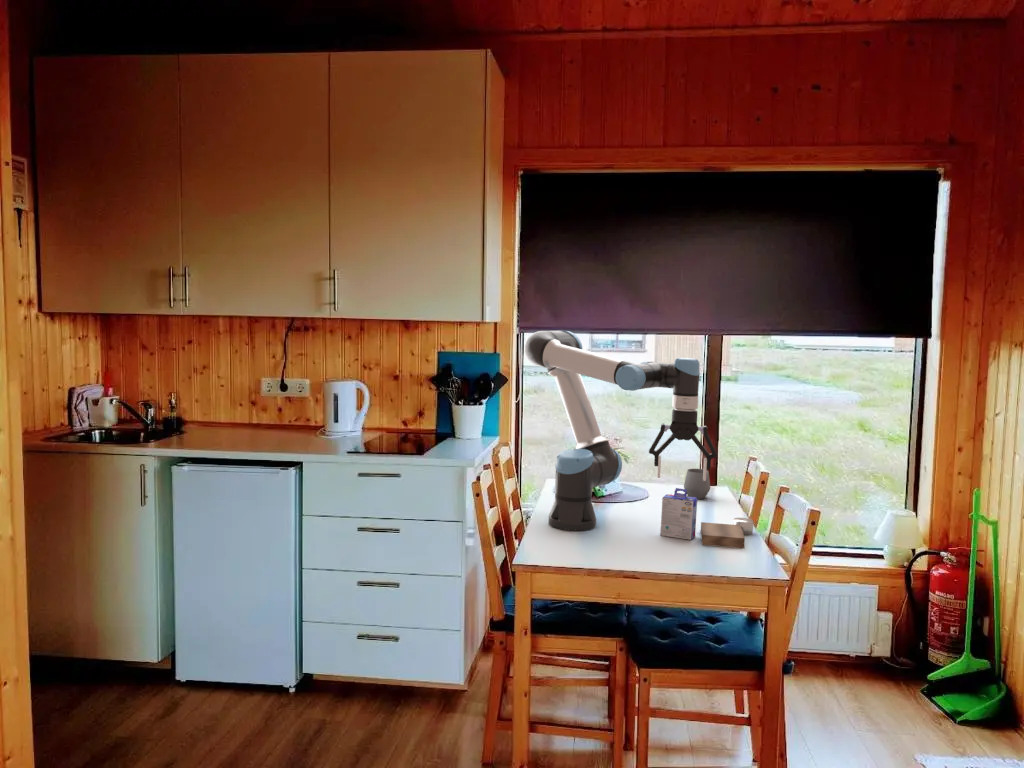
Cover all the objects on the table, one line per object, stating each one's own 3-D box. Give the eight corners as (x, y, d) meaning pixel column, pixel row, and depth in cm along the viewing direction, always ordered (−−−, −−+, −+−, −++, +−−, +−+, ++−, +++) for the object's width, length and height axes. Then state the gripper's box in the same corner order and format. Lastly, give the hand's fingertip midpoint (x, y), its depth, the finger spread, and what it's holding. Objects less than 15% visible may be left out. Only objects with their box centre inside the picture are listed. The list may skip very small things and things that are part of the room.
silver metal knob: (733, 534, 250) (734, 522, 249) (732, 529, 255) (732, 516, 255) (753, 536, 248) (754, 523, 248) (751, 530, 254) (752, 518, 254)
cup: (678, 494, 298) (680, 468, 297) (700, 493, 301) (702, 467, 300) (691, 501, 290) (693, 474, 288) (714, 499, 292) (716, 473, 291)
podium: (702, 544, 238) (702, 534, 238) (700, 531, 252) (701, 522, 251) (744, 548, 236) (744, 538, 235) (740, 534, 249) (740, 525, 249)
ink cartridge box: (696, 536, 246) (698, 489, 245) (692, 540, 241) (694, 493, 240) (664, 531, 251) (666, 485, 249) (659, 535, 246) (662, 489, 244)
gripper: (642, 408, 241) (639, 478, 243) (728, 413, 236) (724, 483, 238) (643, 405, 248) (640, 473, 250) (726, 409, 243) (722, 478, 245)
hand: (681, 478), depth 244 cm, fingers open, 13 cm apart
